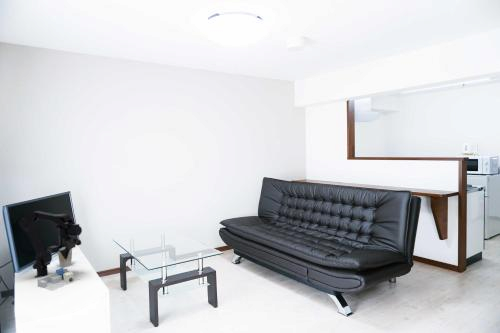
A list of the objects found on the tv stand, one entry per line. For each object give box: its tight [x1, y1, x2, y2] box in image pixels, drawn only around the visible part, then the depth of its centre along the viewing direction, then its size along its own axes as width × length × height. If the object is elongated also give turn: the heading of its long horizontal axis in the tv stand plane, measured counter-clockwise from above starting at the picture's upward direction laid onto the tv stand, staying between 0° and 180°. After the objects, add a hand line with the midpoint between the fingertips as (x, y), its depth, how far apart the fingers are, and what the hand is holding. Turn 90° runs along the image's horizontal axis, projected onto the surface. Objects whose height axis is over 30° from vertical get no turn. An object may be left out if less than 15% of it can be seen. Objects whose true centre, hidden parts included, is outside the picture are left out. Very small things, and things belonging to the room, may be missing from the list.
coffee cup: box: [57, 245, 73, 268], centre depth 231 cm, size 9×9×15 cm
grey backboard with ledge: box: [36, 267, 81, 292], centre depth 202 cm, size 14×18×6 cm
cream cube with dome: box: [62, 271, 75, 282], centre depth 205 cm, size 9×4×4 cm, turn 61°
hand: (65, 259), depth 210 cm, fingers closed
